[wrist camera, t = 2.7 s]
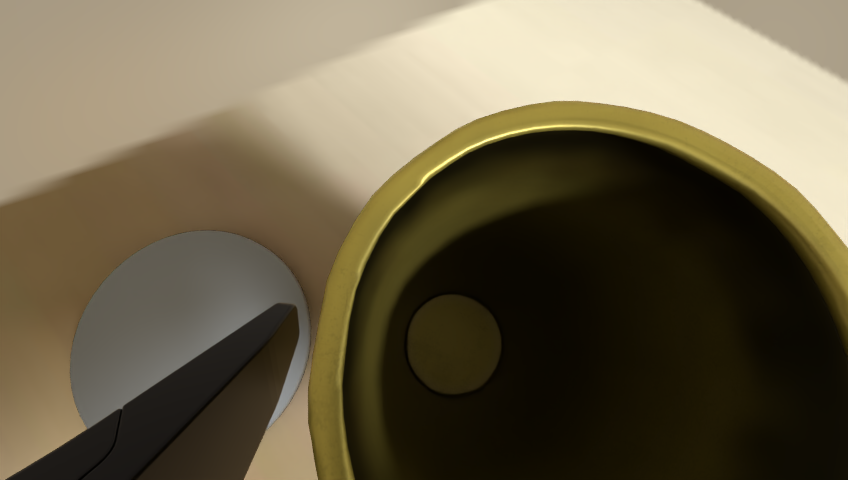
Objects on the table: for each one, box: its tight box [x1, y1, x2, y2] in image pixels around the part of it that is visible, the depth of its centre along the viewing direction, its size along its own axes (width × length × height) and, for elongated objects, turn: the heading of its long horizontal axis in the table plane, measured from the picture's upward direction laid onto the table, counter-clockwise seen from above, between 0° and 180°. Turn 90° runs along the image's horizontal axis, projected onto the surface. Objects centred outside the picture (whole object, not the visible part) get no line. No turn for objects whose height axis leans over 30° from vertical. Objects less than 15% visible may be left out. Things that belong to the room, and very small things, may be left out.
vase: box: [308, 101, 848, 480], centre depth 10 cm, size 6×6×14 cm
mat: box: [70, 230, 311, 430], centre depth 16 cm, size 10×10×1 cm
